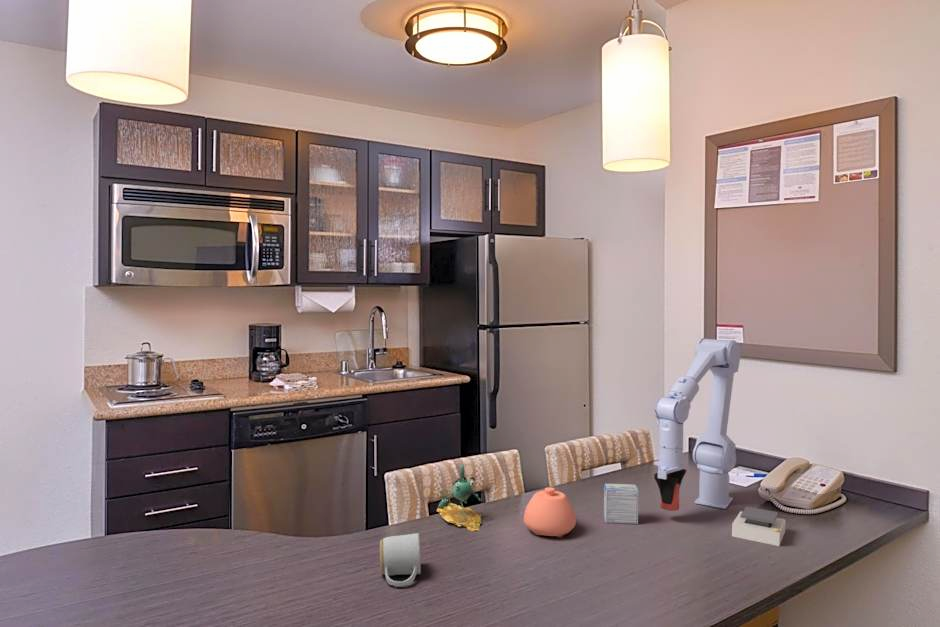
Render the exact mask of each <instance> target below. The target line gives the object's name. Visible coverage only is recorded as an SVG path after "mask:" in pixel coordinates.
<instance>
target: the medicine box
mask: <svg viewBox="0 0 940 627" xmlns="http://www.w3.org/2000/svg"><path fill="white" fill-rule="evenodd" d="M603 487H604V488H603V490H604V491H603V517H604V521H605V522H604V523H605V524H629V525H633V524H635V525H638V524H639V497H640V496H639V492H640V490H639V489H638V486H637V485H636V484H631V483H630V484H628V483H603Z"/></svg>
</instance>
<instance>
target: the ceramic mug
mask: <svg viewBox="0 0 940 627" xmlns="http://www.w3.org/2000/svg"><path fill="white" fill-rule="evenodd" d="M420 544H421V542H420V534H419V533H416V532H415V533H409V534H401V535H392V536H386V537H384V538H382V539H380V541H379V569H380V573H381V574H382V575H384V576H385V580H386V582H387V584H388V585H389V586H391V585H394V586H406V585H408V586H410V585H411V584H412V583H413V582H414V580H415V578H416V576H417V575H421V574H422V572H421V546H420ZM401 575H402V576H409V577H408V578H407V579H405V580H403V581H398V580H393V579H391V577H390V576H401ZM406 587H407V586H406Z"/></svg>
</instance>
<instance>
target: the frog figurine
mask: <svg viewBox="0 0 940 627" xmlns="http://www.w3.org/2000/svg"><path fill="white" fill-rule="evenodd" d="M459 470H460V471H459V472H460V474H459V476H460V477H457V480H455V481H454V482H453V484H452V490H451V489H447V490H446V494H445V493H444V494H443V498H441V500H440V501H439V504H438V506H437V509H436V512H438V513H439V514H440V516H441V517H442V519H444V521H446V522H447V523H451V524H453V525H455V526H457V527H462V526H463V527H464V528H466V529H467V530H468V531H470V532H474V531H475V532H476V530H478V531H480V525H481V524H482V514H478V513H476V512H475V511H474V510H473V509H472V508H470V507H464V505H463V502H464V504H467V500H468V499H469V498H470V497H471V496H472V494H473V495H474V496H475V497H476V498H477V499H478V501H479V502H481V498H480V497H479V495H478V493H475V492H474V490H473V488H474V486H475V482H476V478H475V477H473V476H471V477H470V478H469V480H470V481H469V480H468V478H467V477H466V476H465V467H464V465H463V464H460V466H459ZM449 492H451V493H450V494H448V493H449ZM452 494H453V497H454V498H455V499H457V500H458V501H459V503H460V504H459V505H458V504H456V503H452V502H451V498H450V496H451V495H452ZM447 496H448V498H447Z"/></svg>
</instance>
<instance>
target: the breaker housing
mask: <svg viewBox="0 0 940 627" xmlns="http://www.w3.org/2000/svg"><path fill="white" fill-rule="evenodd" d="M742 512H743V511H741V510H740V511H739V513H738V514H737V516H736V517H735V518H734V520H733V522H732V523H731V527H732V528H731V537H734V538H738V539H744V540H748V541H752V542H758V543H761V544H767V545H771V546H777V547H780V545H781V543H782V541H783V538H784V535H785V534H786V521H787V520H786V519H784V518H779V517H777V518H776V520H775V522H774V524H772V523H771V528H768V527H763V526H758V525H753V524H748V523H747V519H745V518H740V516H741V514H742Z"/></svg>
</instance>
